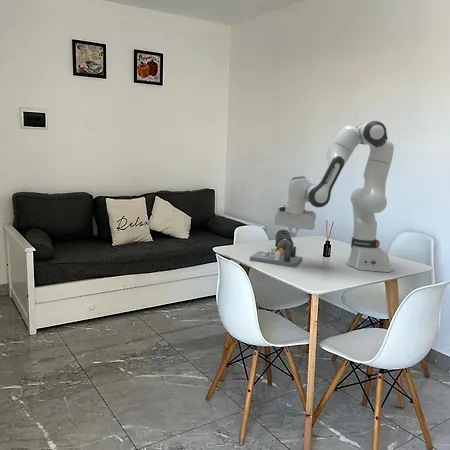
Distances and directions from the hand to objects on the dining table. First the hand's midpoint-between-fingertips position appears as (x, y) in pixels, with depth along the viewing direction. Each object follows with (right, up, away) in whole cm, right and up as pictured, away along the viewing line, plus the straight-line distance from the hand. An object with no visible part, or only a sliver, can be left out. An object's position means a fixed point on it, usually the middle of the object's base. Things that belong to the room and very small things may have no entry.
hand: (293, 236), depth 231 cm
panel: (-8, -13, +6) cm, 16 cm away
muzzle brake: (-2, -9, +25) cm, 26 cm away
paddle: (-6, -11, +5) cm, 13 cm away
